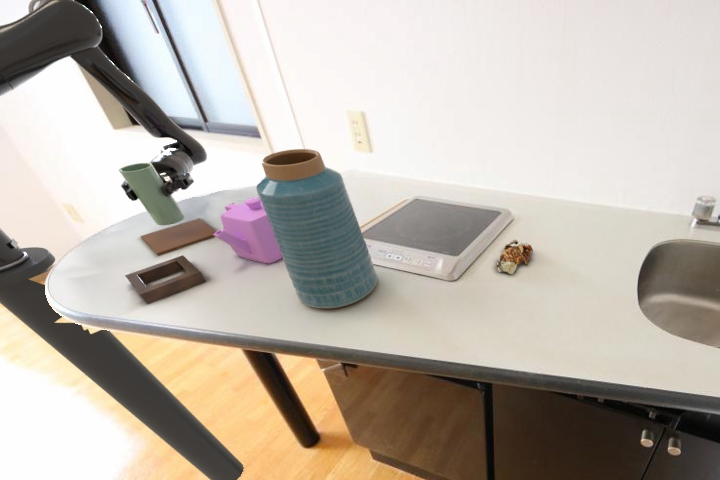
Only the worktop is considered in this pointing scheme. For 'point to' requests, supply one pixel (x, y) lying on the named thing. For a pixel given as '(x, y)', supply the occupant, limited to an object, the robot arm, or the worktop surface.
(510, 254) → the pastry
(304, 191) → the vase
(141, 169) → the cup
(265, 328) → the worktop surface
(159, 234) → the mat
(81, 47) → the robot arm
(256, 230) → the teakettle
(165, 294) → the rectangular frame
